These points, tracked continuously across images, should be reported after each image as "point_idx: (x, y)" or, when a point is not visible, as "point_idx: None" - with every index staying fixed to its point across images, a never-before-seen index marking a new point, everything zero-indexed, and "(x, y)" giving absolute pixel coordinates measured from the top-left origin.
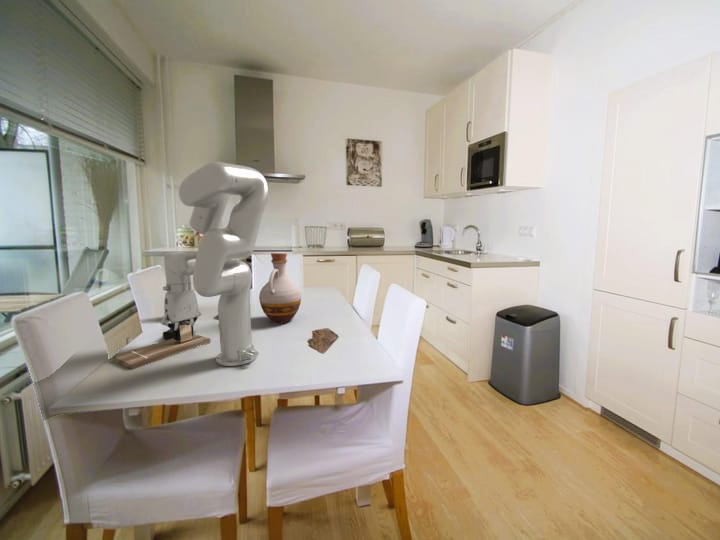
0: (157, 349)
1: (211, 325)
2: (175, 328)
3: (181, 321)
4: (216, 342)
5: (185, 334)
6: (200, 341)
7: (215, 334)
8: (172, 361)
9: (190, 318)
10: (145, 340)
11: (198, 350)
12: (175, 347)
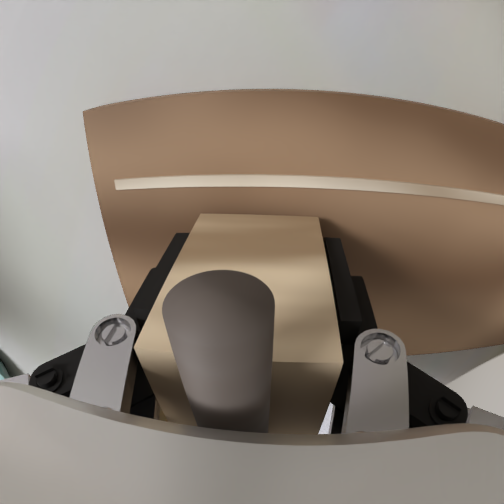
0: (474, 254)
1: (41, 354)
2: (389, 351)
3: None
4: (74, 76)
5: (262, 252)
6: (170, 108)
7: (34, 239)
8: (498, 26)
9: (105, 410)
10: (325, 423)
11: (266, 11)
12: (406, 168)
